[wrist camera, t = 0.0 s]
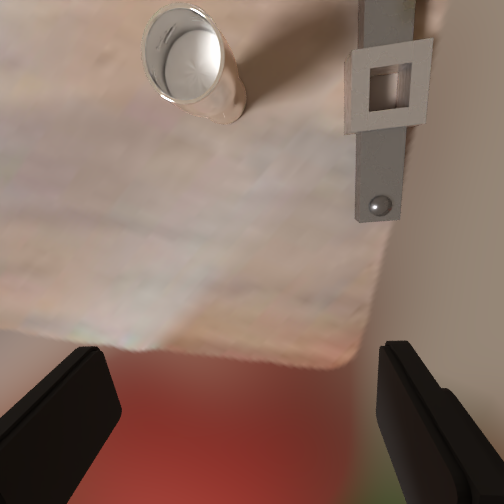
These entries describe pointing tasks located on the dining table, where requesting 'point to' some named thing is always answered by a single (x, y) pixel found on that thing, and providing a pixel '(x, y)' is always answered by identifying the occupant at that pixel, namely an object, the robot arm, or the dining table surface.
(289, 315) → the dining table surface
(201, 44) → the metal tumbler
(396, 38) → the studded connector plate
